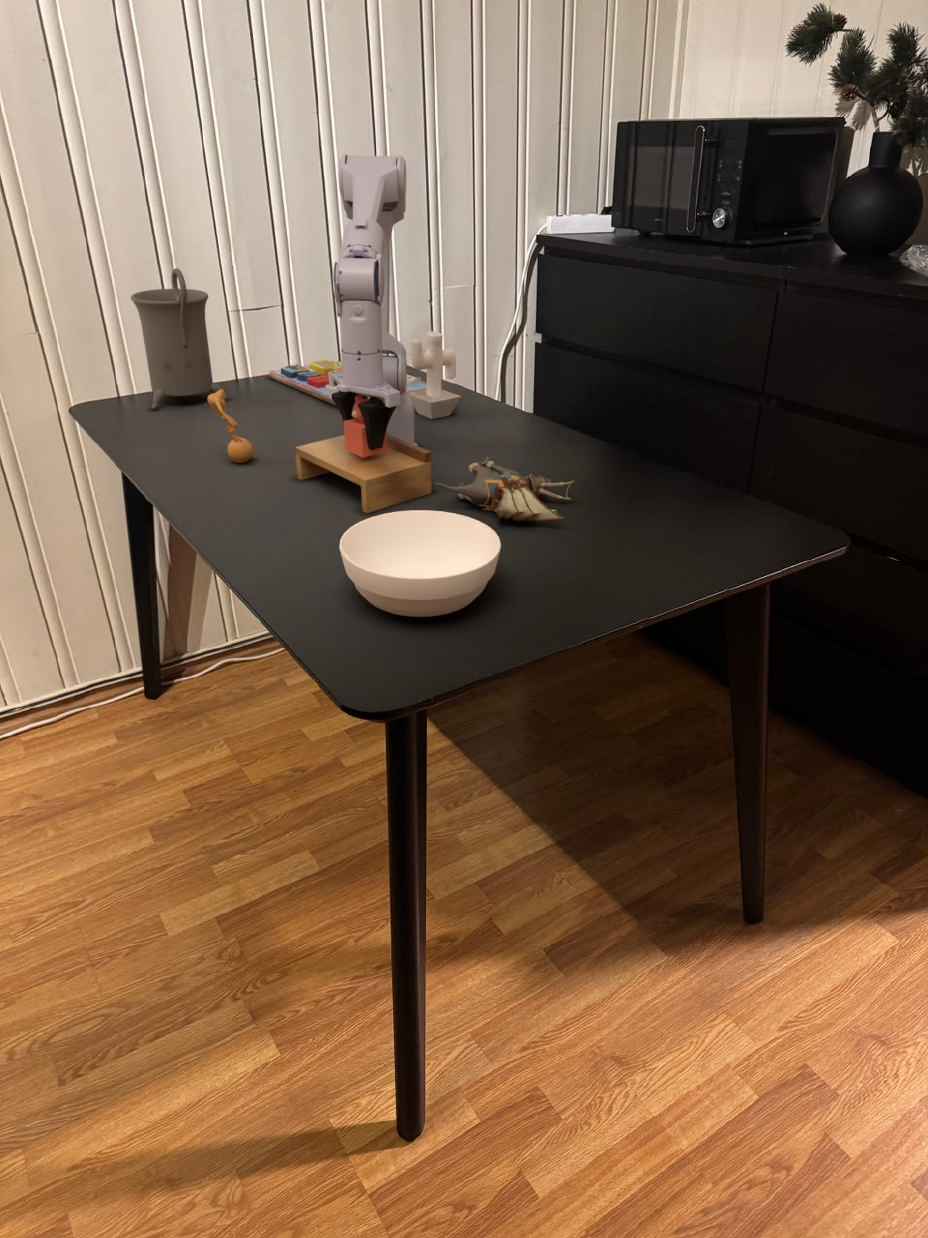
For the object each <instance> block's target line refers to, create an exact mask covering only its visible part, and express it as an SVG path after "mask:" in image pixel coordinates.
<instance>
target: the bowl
mask: <svg viewBox="0 0 928 1238" xmlns="http://www.w3.org/2000/svg"><path fill="white" fill-rule="evenodd" d="M338 548H339V552H340V555H341V560H342V564H343V567H344V571H345V574H346V576H347V577H348V578H349V579H350V581H351V582H353V584H354V586H355V589H356V590H357V592H358V593H359V594H360V595H361V596H362V597H363V598H364V599H365V600H366V601H367V602H369V603H370V604H371V605H373V606H374V607H376V608H378V609H379V610H382V611H384V612H386V613H390V614H393V615H398V616H403V617H411V618H413V617H414V618H426V617H427V618H428V617H429V618H430V617H436V616H442V615H447V614H451V613H454V612H456V611H459V610H461V609H463V608H465V607H467V606H468V605H470V604H471V603H472V602H473V601H474V600H475V599H476V598H478V596H480V595H481V593H483V591H485V588H486V587H487V585H488V582H489V581H490V580H491V579H492V578H493V576H494V575H495V573H496V569H497V566H498V565H497V564H498V561H499V557H500V554H501V549H502V543H501V539H500V537H499V536H498V534H497V532H496V531H495V530H494V529H492V527H490V526H489V525H487V524H486V523H484V522H482V521H480V520H478V519H474V518H472V517H470V516H467V515H463V514H460V513H459V514H458V513H454V512H448V511H441V510H431V509H429V510H427V509H420V510H418V509H417V510H415V509H414V510H411V509H410V510H401V511H400V510H399V511H393V512H386V513H381V514H378V515H375V516H371V517H369V518H366V519H363V520H360V521H358V522H357V523H355V524H354V525H351V526H350V527H349V528H348V529H347V530H345V532H343V535H342V536H341V538H340V540H339V547H338Z"/></svg>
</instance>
